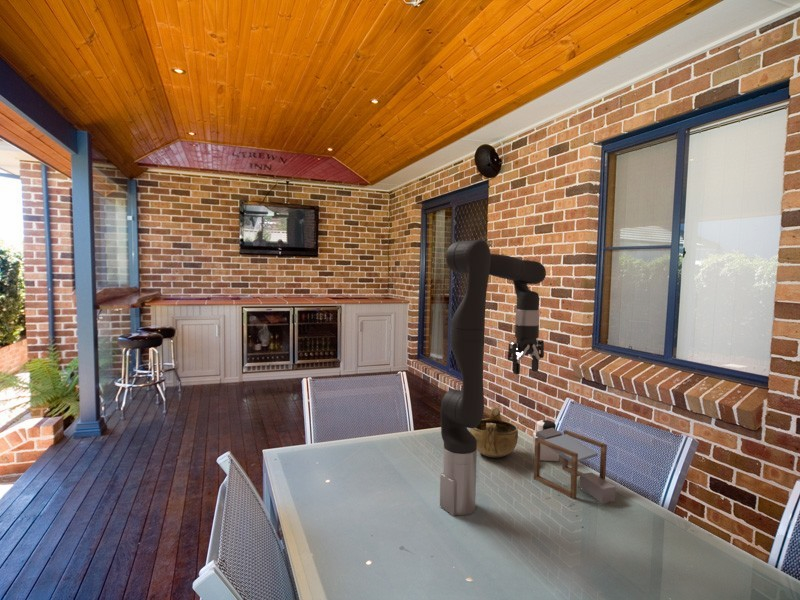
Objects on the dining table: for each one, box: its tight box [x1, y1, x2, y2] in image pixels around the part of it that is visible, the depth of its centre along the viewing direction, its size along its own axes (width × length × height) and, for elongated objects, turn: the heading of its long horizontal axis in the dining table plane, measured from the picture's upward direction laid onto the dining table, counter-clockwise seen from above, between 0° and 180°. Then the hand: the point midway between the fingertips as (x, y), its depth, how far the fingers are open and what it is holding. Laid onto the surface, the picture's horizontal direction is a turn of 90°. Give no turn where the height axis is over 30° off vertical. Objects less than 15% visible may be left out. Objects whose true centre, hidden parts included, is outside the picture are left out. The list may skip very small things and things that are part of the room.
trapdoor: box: [535, 428, 598, 463], centre depth 145 cm, size 12×16×2 cm
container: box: [532, 419, 560, 462], centre depth 164 cm, size 8×8×13 cm
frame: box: [533, 429, 608, 500], centre depth 144 cm, size 15×15×14 cm
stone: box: [578, 472, 616, 504], centre depth 137 cm, size 4×4×10 cm
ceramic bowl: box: [470, 406, 519, 459], centre depth 166 cm, size 22×17×15 cm
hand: (525, 372), depth 148 cm, fingers open, 8 cm apart
